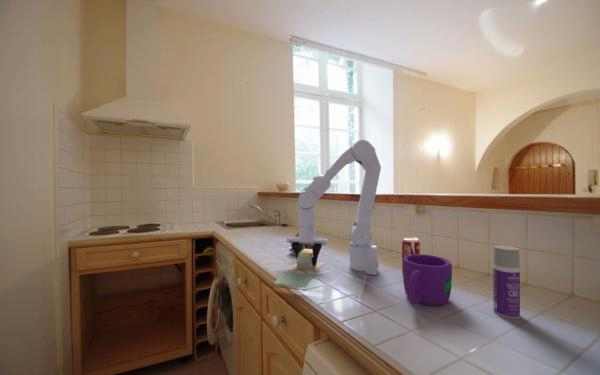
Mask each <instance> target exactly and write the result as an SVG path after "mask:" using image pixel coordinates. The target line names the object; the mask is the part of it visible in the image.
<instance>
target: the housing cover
mask: <svg viewBox="0 0 600 375" xmlns="http://www.w3.org/2000/svg"><path fill="white" fill-rule="evenodd" d="M298 254H299V257H305V258H310V257H311V256H312V255H313V250H312V249H304V250H302V251H301V252H300V253H298Z"/></svg>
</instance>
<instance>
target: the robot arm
mask: <svg viewBox="0 0 600 375" xmlns="http://www.w3.org/2000/svg"><path fill="white" fill-rule="evenodd" d="M354 162H355V163H358V164H359V166H361V167H362V169H363V170H364V177H363V182H362V185H361V191H360V192H361V193H360V197H359V202H358V205H357V206H358V207H357V213H356V216H355V218H354V220H353V224H352V225H351V226H350V229H349V234H350V237H351V240H350V241H349V268H350V269H351V270H354V271H358V272H359V271H360V272H365V275H373V276H374V275H375V276H377V274H378V268H379V262H378V245H373V244H372V242H371V241H372V236H373V235H372V231H371V229H372V228H371V227H372V221H371V220H372V215H373V214H372V213H373V208H374V204H375V199H376V194H377V188H378V186H379V184H378V183H379V178H380V174H381V168H382V166H381V164H380V160H379V158H378V155H377V152H376V148H375V147H374V146H373V145H372V143H370V142H369V141H368V140H366V139H360V140H357V141H356V142H355V143H354V144H353V146H350V147H349V148H348V149H347V150H345V151H344V152H343V153H342V154H341V155H340V156H339V157H338V158H337V159H336V161H335V162H334V163H333V164H332V165H331V166H330V167H329V168H328V170H327V171H326V172H325V173H324V174H319V175H317V176H314V177H313V178H312V179H313V181H312V182H310V184H309V185H308V186H307V187H304V188H303V190H304V191H302V192H300V193H299V195H298V197H297V204H298V205H299V206H298V233H299V237H295V236H287V237H286V244H290V246H291V248H292V249H293V251H294V253H295V255H296V256H295V257H296V259H297V257H298V256H299V254H298V253H300V252H301V249H302V244H314V245H313V246H312V250H313V266H316V264H317V263H318V258H319V255H320V252H321V249H322V247H323V246H325V247H326V246H328V245H329V242H328V238H322V237H316V219H315V218H316V215H315V214H316V213H315V206H314V205H315V203H316V200H319V199H320V198H321V197H322V196H323V195H324V194H325V193H326V192H327V191H328V189H330V187H331V184H332V183H331V181H332V180H334V179H333V178H335V177H336V176H337V175H338V173H340V172H341V170H342V169H344V167H346V166H347V165H350V164H353V163H354ZM291 243H292V245H291Z"/></svg>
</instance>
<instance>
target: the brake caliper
mask: <svg viewBox="0 0 600 375" xmlns="http://www.w3.org/2000/svg"><path fill="white" fill-rule="evenodd" d="M294 237H299V232H297V233H296V235H295V236H294ZM291 245H292V243H290V246H291ZM313 245H314V244H302V249H301V251H302V250H304V249H312V246H313ZM289 251H290V252H291V256H293V257H296V255H295V253H294V251H293V249H292V247H291V248H289Z"/></svg>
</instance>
